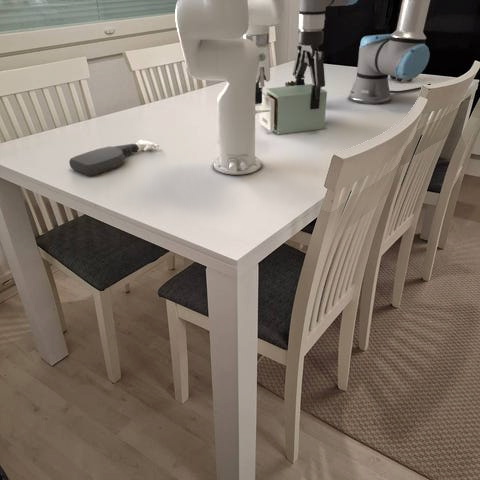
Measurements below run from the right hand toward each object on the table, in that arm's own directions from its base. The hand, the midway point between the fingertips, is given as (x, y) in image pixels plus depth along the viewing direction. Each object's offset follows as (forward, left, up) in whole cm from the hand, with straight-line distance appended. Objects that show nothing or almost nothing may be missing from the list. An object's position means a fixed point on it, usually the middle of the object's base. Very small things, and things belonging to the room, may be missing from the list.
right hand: (306, 104), depth 145 cm
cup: (-16, -18, -7) cm, 26 cm away
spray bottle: (+60, -19, -7) cm, 63 cm away
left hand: (+15, -8, +2) cm, 17 cm away
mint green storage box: (+4, -2, -7) cm, 8 cm away
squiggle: (-79, -9, -7) cm, 80 cm away
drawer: (+9, -4, -6) cm, 11 cm away
